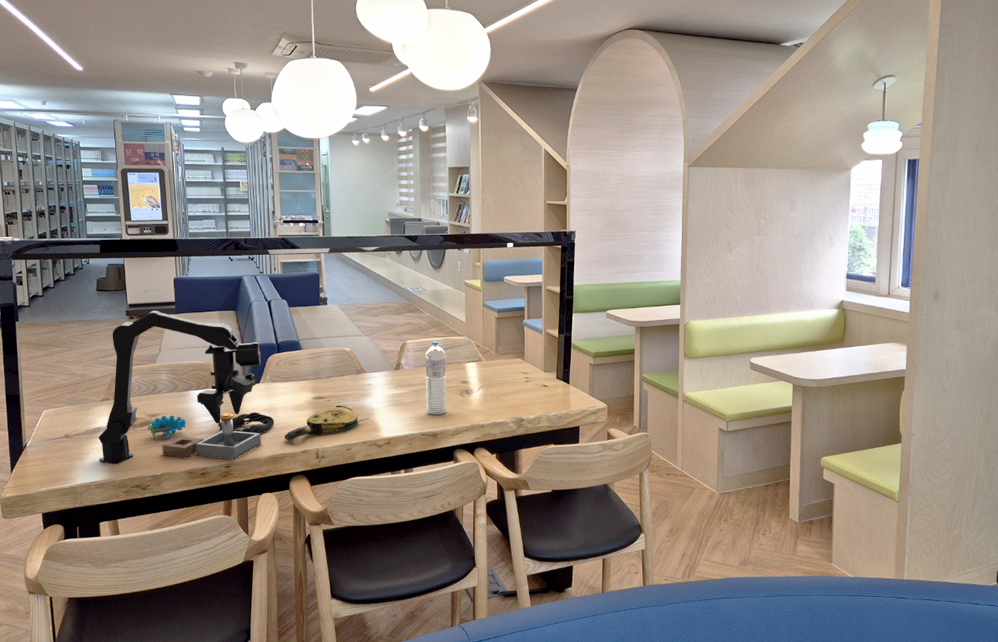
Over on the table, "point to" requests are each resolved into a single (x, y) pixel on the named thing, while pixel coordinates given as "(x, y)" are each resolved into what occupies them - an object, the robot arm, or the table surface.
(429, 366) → the water bottle
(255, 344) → the robot arm
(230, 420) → the pin
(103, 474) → the table surface
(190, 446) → the block
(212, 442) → the tray
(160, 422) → the gear
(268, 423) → the cable
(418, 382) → the table surface
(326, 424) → the pulley block
